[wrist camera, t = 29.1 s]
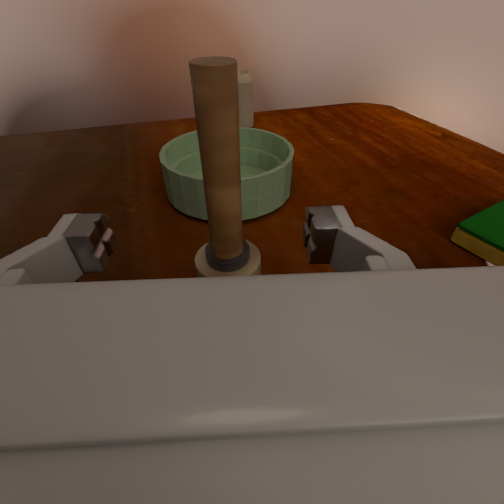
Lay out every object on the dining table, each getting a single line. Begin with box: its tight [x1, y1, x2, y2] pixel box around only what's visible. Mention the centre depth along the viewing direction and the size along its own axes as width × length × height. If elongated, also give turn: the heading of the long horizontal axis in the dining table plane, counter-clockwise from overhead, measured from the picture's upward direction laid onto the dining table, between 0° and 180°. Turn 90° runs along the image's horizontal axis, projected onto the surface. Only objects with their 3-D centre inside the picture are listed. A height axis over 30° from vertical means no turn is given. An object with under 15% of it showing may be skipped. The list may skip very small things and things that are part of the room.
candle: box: [237, 70, 254, 128], centre depth 61 cm, size 6×6×10 cm
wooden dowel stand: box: [189, 57, 261, 278], centre depth 24 cm, size 6×6×18 cm
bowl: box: [159, 127, 294, 220], centre depth 41 cm, size 17×17×6 cm
